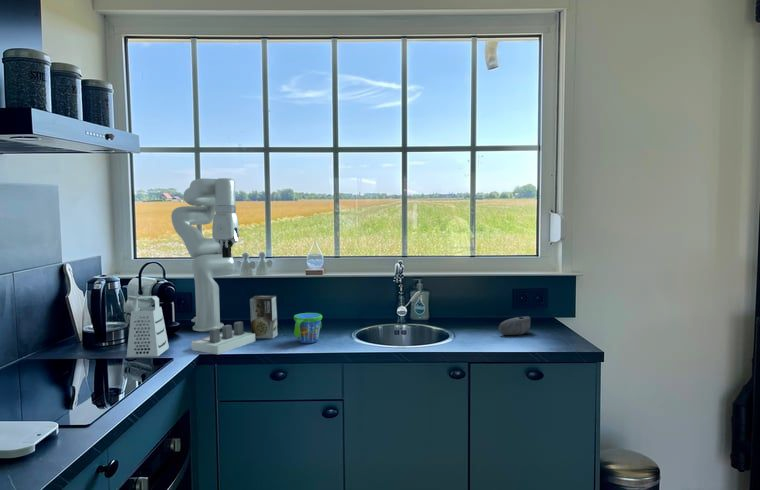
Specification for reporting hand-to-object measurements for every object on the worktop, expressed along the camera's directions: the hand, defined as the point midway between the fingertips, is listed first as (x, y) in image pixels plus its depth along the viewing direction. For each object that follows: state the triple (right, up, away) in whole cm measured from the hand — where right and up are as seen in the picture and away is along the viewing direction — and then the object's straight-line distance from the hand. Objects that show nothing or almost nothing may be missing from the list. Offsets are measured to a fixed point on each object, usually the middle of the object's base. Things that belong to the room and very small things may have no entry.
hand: (226, 257), depth 186 cm
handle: (0, -30, -14) cm, 33 cm away
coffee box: (+14, -32, +4) cm, 35 cm away
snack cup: (+32, -32, -3) cm, 46 cm away
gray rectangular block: (+6, -29, -4) cm, 30 cm away
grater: (-23, -34, -16) cm, 44 cm away
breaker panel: (+2, -33, -8) cm, 34 cm away
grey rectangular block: (+3, -30, -9) cm, 31 cm away
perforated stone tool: (+114, -31, +5) cm, 118 cm away
